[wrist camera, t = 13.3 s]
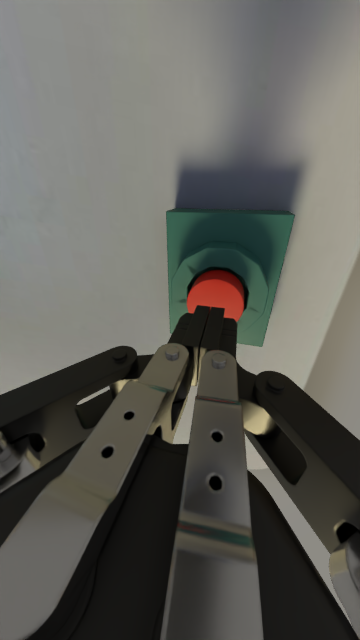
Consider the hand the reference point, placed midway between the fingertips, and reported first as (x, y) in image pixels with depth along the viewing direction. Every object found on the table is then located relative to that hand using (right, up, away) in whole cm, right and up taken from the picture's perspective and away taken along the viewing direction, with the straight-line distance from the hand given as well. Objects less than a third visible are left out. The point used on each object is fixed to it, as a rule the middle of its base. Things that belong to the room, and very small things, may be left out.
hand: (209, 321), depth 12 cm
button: (+1, +2, +3) cm, 4 cm away
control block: (+2, +4, +6) cm, 8 cm away
